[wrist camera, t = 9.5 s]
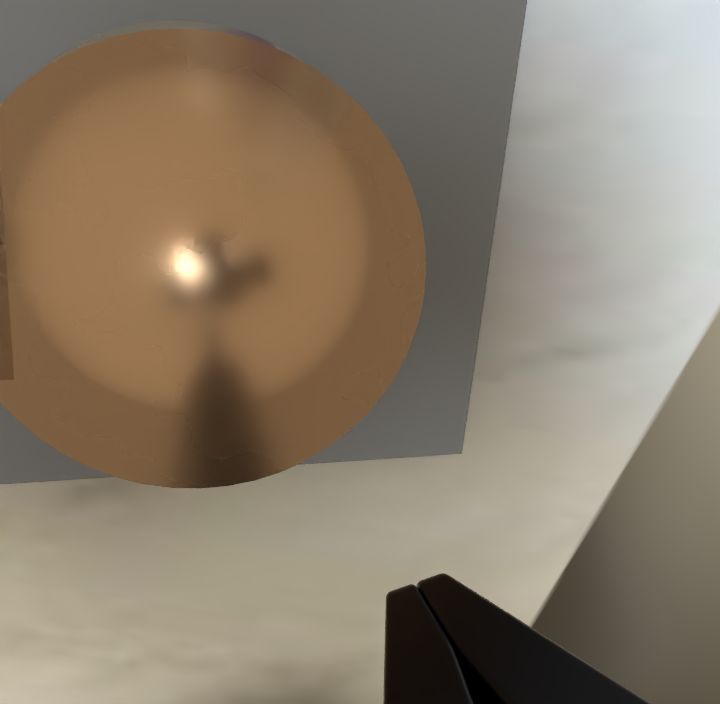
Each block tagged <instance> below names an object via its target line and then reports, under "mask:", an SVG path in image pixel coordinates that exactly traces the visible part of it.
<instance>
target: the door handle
mask: <svg viewBox="0 0 720 704" xmlns="http://www.w3.org/2000/svg"><path fill="white" fill-rule="evenodd" d="M425 280H426V248H425V238H424V232H423V226H422V220H421V215H420V211H419V208H418V205H417V201H416V198H415V194H414V191H413V188H412V186H411V183H410V181H409V179H408V176H407V174H406V172H405V170H404V167H403V165H402V163H401V161H400V159H399V157H398V156H397V154H396V153H395V151H394V149H393V148H392V146H391V144H390V143H389V141H388V139H387V138H386V136H385V135H384V133H383V132H382V131H381V130H380V128H379V127H378V126H377V125H376V123H375V122H374V121H373V120H372V118H371V117H370V116H369V115H368V113H367V112H366V111H365V110H364V109H363V108H362V107H361V106H360V105H359V104H358V103H357V102H356V101H355V100H354V99H353V98H352V97H351V96H350V95H349V94H348V93H347V92H346V91H344V90H343V89H342V88H341V87H340V86H338V85H337V84H336V83H334V82H333V81H332V80H330V79H329V78H328V77H326V76H325V75H323V74H322V73H321V72H319V71H318V70H317V69H315V68H313V67H312V66H310V65H308V64H306V63H304V62H303V61H301V60H299V59H297V58H295V57H293V56H292V55H290V54H288V53H286V52H284V51H281V50H279V49H276V48H273V47H271V46H268V45H266V44H263V43H260V42H258V41H255V40H252V39H248V38H244V37H239V36H235V35H231V34H227V33H222V32H217V31H206V30H195V29H185V28H181V29H160V30H145V31H140V32H135V33H130V34H125V35H120V36H114V37H110V38H108V39H105V40H102V41H99V42H96V43H93V44H91V45H88V46H85V47H82V48H79V49H77V50H75V51H73V52H71V53H69V54H67V55H66V56H64V57H62V58H60V59H58V60H56V61H54V62H53V63H51V64H49V65H47V66H45V67H44V68H43V69H41V70H40V71H39V72H37V73H36V74H35V75H33V76H32V77H31V78H29V79H28V80H27V81H25V82H24V83H23V84H21V85H20V86H19V87H17V88H16V89H15V90H14V91H13V92H12V93H11V94H10V95H9V96H8V98H7V99H6V100H5V101H4V102H3V103H2V104H1V105H0V402H1V403H2V404H3V405H4V407H5V408H6V409H7V410H8V411H9V412H10V413H11V414H12V416H14V417H15V418H16V419H17V420H18V421H19V422H20V423H22V424H23V425H24V426H25V427H26V428H27V429H29V430H30V431H31V432H32V433H33V434H34V435H35V436H37V437H38V438H40V439H41V440H43V441H44V442H46V443H47V444H49V445H50V446H52V447H53V448H55V449H56V450H58V451H59V452H61V453H62V454H64V455H66V456H68V457H70V458H72V459H74V460H76V461H78V462H80V463H82V464H84V465H86V466H88V467H90V468H93V469H96V470H98V471H101V472H104V473H106V474H109V475H112V476H114V477H118V478H122V479H126V480H130V481H134V482H138V483H142V484H148V485H156V486H163V487H171V488H208V487H219V486H229V485H234V484H239V483H244V482H249V481H254V480H257V479H260V478H263V477H266V476H270V475H273V474H276V473H279V472H282V471H284V470H286V469H288V468H290V467H293V466H295V465H297V464H299V463H302V462H304V461H306V460H307V459H309V458H311V457H313V456H314V455H316V454H318V453H319V452H321V451H323V450H324V449H326V448H328V447H329V446H330V445H332V444H333V443H334V442H336V441H337V440H338V439H340V438H341V437H342V436H344V435H345V434H346V433H348V432H349V431H350V430H351V429H352V428H353V427H354V426H355V425H356V424H357V423H358V422H359V421H360V420H361V419H362V418H364V417H365V416H366V415H367V414H368V412H369V411H370V410H371V409H372V408H373V406H374V405H375V404H376V403H377V402H378V400H379V399H380V398H381V397H382V396H383V394H384V393H385V391H386V390H387V388H388V387H389V385H390V384H391V382H392V381H393V379H394V378H395V376H396V375H397V373H398V371H399V369H400V367H401V365H402V363H403V361H404V359H405V357H406V355H407V353H408V351H409V349H410V346H411V343H412V340H413V337H414V335H415V332H416V329H417V326H418V323H419V318H420V313H421V309H422V304H423V300H424V291H425Z"/></svg>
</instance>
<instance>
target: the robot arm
mask: <svg viewBox="0 0 720 704" xmlns="http://www.w3.org/2000/svg"><path fill="white" fill-rule="evenodd" d="M383 704H651V703H649V702H648V701H646V700H645V699H643V698H642V697H640V696H638V695H637V694H635V693H633V692H632V691H631V690H629V689H627V688H626V687H624V686H623V685H621V684H619V683H618V682H616V681H615V680H613V679H611V678H610V677H608V676H607V675H605V674H604V673H602V672H601V671H599V670H597V669H596V668H594V667H593V666H591V665H589V664H588V663H586V662H585V661H583V660H581V659H580V658H578V657H577V656H575V655H574V654H572V653H571V652H569V651H567V650H566V649H564V648H563V647H561V646H559V645H558V644H556V643H555V642H553V641H552V640H550V639H548V638H547V637H545V636H544V635H542V634H540V633H539V632H537V631H536V630H534V629H532V628H531V627H529V626H528V625H526V624H525V623H523V622H522V621H520V620H518V619H517V618H515V617H514V616H512V615H510V614H509V613H507V612H506V611H504V610H503V609H501V608H499V607H498V606H496V605H495V604H493V603H492V602H490V601H488V600H487V599H485V598H484V597H482V596H480V595H479V594H477V593H476V592H474V591H473V590H471V589H469V588H468V587H466V586H465V585H463V584H462V583H460V582H458V581H457V580H455V579H454V578H452V577H450V576H449V575H447V574H438V575H436V576H433V577H430V578H427V579H424V580H422V581H420V582H419V583H418V584H417V587H416V586H415V585H412V584H411V585H407V586H405V587H402V588H399V589H396V590H393V591H391V592H389V593H388V594H387V596H386V620H385V661H384V703H383Z"/></svg>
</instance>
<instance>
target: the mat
mask: <svg viewBox="0 0 720 704" xmlns="http://www.w3.org/2000/svg"><path fill="white" fill-rule="evenodd" d="M526 4H527V0H0V105H1V104H2V103H3V102H4V101H5V100H6V99H7V98H8V96H9V95H10V94H11V93H12V92H13V91H14V90H15V89H16V88H17V87H19V86H20V85H21V84H23V83H24V82H25V81H27V80H28V79H29V78H31V77H32V76H33V75H35V74H36V73H37V72H39V71H40V70H41V69H42V68H44V67H45V66H46V65H47V64H48V63H50V62H51V61H52V60H53V59H54V58H55V57H57V56H59V55H60V54H62V53H64V52H65V51H67V50H69V49H70V48H72V47H74V46H75V45H77V44H78V43H80V42H82V41H84V40H87V39H89V38H92V37H94V36H96V35H99V34H101V33H104V32H106V31H109V30H112V29H116V28H120V27H124V26H128V25H132V24H136V23H142V22H152V21H162V20H184V21H201V22H207V23H212V24H217V25H222V26H228V27H231V28H234V29H237V30H240V31H243V32H246V33H249V34H252V35H255V36H258V37H260V38H262V39H264V40H266V41H268V42H270V43H272V44H275V45H277V46H279V47H281V48H283V49H285V50H286V51H288V52H289V53H291V54H292V55H294V56H295V57H297V58H298V59H300V60H301V61H303V62H304V63H306V64H308V65H310V66H312V67H313V68H315V69H317V70H318V71H319V72H321V73H322V74H323V75H325V76H326V77H328V78H329V79H330V80H332V81H333V82H334V83H336V84H337V85H338V86H340V87H341V88H342V89H343V90H344V91H346V92H347V93H348V94H349V95H350V96H351V97H352V98H353V99H354V100H355V101H356V102H357V103H358V104H359V105H360V106H361V107H362V108H363V109H364V110H365V111H366V112H367V113H368V115H369V116H370V117H371V118H372V120H373V121H374V122H375V123H376V125H377V126H378V127H379V128H380V130H381V131H382V132H383V133H384V135H385V136H386V138H387V139H388V141H389V143H390V144H391V146H392V148H393V149H394V151H395V153H396V154H397V156H398V157H399V159H400V161H401V163H402V165H403V167H404V170H405V172H406V174H407V176H408V179H409V181H410V183H411V186H412V188H413V191H414V194H415V198H416V201H417V205H418V208H419V211H420V215H421V220H422V226H423V232H424V238H425V248H426V280H425V291H424V300H423V304H422V309H421V313H420V318H419V323H418V326H417V329H416V332H415V335H414V337H413V340H412V343H411V346H410V349H409V351H408V353H407V355H406V357H405V359H404V361H403V363H402V365H401V367H400V369H399V371H398V373H397V375H396V376H395V378H394V379H393V381H392V382H391V384H390V385H389V387H388V388H387V390H386V391H385V393H384V394H383V396H382V397H381V398H380V399H379V400H378V402H377V403H376V404H375V405H374V406H373V408H372V409H371V410H370V411H369V412H368V414H367V415H366V416H365V417H364V418H362V419H361V420H360V421H359V422H358V423H357V424H356V425H355V426H354V427H353V428H352V429H351V430H350V431H349V432H348V433H346V434H345V435H344V436H342V437H341V438H340V439H338V440H337V441H336V442H334V443H333V444H332V445H330V446H329V447H328V448H326V449H324V450H323V451H321V452H319V453H318V454H316V455H314V456H313V457H311V458H309V459H307V460H306V461H304V462H302V463H299V464H313V463H328V462H343V461H358V460H373V459H388V458H403V457H418V456H433V455H448V454H462V448H463V441H464V434H465V427H466V420H467V413H468V406H469V399H470V392H471V386H472V379H473V372H474V365H475V358H476V351H477V344H478V337H479V330H480V323H481V316H482V309H483V302H484V295H485V288H486V281H487V275H488V268H489V261H490V254H491V247H492V240H493V233H494V226H495V219H496V212H497V205H498V198H499V191H500V184H501V177H502V170H503V164H504V157H505V150H506V143H507V136H508V129H509V122H510V115H511V108H512V101H513V94H514V87H515V80H516V73H517V66H518V59H519V53H520V46H521V39H522V32H523V25H524V18H525V11H526ZM297 465H298V464H297ZM102 477H114V476H112V475H109V474H106V473H104V472H101V471H98V470H96V469H93V468H90V467H88V466H86V465H84V464H82V463H80V462H78V461H76V460H74V459H72V458H70V457H68V456H66V455H64V454H62V453H61V452H59V451H58V450H56V449H55V448H53V447H52V446H50V445H49V444H47V443H46V442H44V441H43V440H41V439H40V438H38V437H37V436H35V435H34V434H33V433H32V432H31V431H30V430H29V429H27V428H26V427H25V426H24V425H23V424H22V423H20V422H19V421H18V420H17V419H16V418H15V417H14V416H12V414H11V413H10V412H9V411H8V410H7V409H6V408H5V407H4V405H3V404H2V403H1V402H0V484H12V483H27V482H42V481H57V480H72V479H87V478H102Z"/></svg>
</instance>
